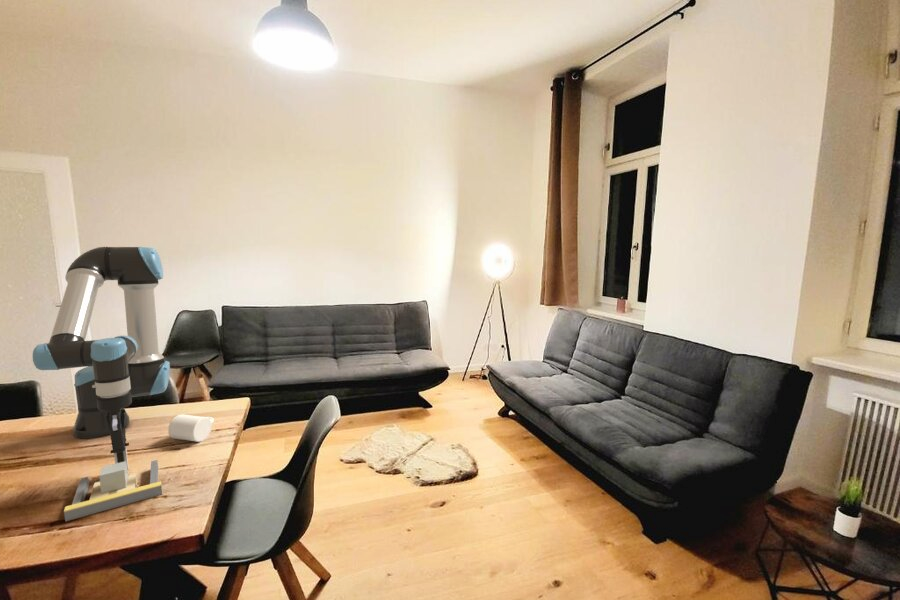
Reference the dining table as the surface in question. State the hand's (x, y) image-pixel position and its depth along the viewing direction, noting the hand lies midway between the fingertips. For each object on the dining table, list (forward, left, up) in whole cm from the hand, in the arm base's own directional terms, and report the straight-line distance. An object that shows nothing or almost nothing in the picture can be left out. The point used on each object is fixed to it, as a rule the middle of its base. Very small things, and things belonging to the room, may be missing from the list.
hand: (122, 470), depth 117 cm
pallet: (+11, -1, -2) cm, 11 cm away
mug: (-15, +19, -1) cm, 24 cm away
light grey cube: (+11, -1, +1) cm, 11 cm away
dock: (+9, 0, -1) cm, 9 cm away
